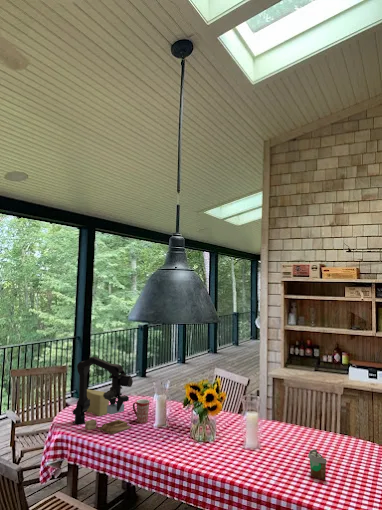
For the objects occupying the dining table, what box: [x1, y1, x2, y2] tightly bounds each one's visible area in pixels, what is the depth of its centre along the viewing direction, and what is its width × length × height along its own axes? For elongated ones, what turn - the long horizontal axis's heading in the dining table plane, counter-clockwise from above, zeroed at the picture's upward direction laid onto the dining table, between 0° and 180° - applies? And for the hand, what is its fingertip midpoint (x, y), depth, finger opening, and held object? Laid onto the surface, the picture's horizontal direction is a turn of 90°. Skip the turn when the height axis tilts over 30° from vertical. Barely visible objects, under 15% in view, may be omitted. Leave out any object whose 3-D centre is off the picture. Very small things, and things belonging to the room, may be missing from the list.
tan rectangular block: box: [84, 419, 97, 431], centre depth 252 cm, size 4×6×4 cm
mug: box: [132, 398, 151, 424], centre depth 268 cm, size 13×9×14 cm
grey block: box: [107, 403, 125, 415], centre depth 254 cm, size 4×10×5 cm, turn 136°
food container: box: [307, 448, 327, 481], centre depth 194 cm, size 12×6×10 cm, turn 5°
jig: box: [97, 419, 132, 435], centre depth 252 cm, size 14×16×3 cm
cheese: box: [86, 388, 110, 417], centre depth 285 cm, size 22×10×15 cm, turn 58°
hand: (115, 410), depth 253 cm, fingers closed on grey block, 5 cm apart
